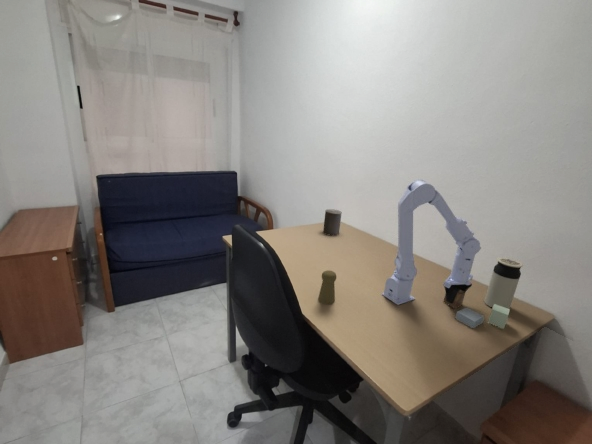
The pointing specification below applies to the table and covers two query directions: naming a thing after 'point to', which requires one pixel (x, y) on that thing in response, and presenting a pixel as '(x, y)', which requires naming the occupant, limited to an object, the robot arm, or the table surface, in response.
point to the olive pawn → (327, 287)
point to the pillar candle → (332, 221)
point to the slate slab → (469, 317)
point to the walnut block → (456, 299)
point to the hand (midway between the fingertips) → (453, 300)
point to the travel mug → (503, 283)
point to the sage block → (499, 316)
